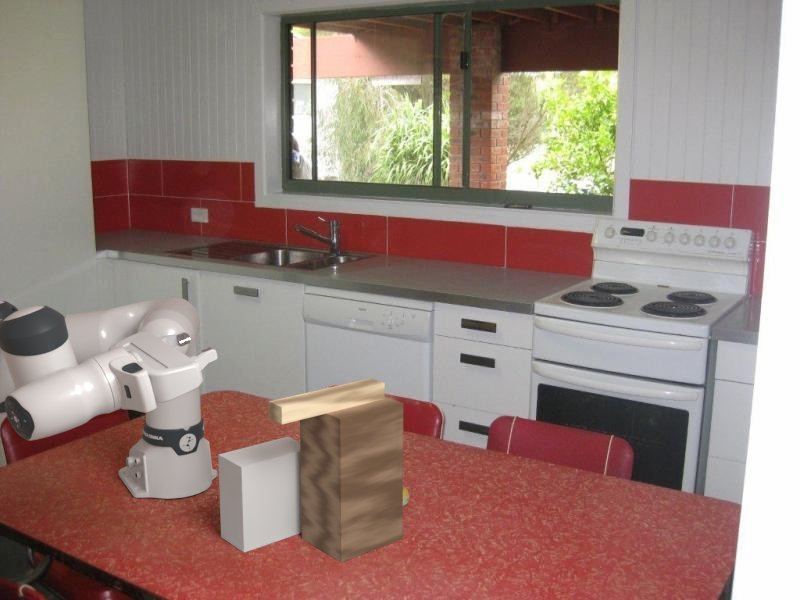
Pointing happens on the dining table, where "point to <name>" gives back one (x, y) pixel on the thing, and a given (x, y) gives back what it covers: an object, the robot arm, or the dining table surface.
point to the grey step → (260, 493)
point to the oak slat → (325, 400)
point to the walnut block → (353, 478)
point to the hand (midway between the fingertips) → (201, 344)
